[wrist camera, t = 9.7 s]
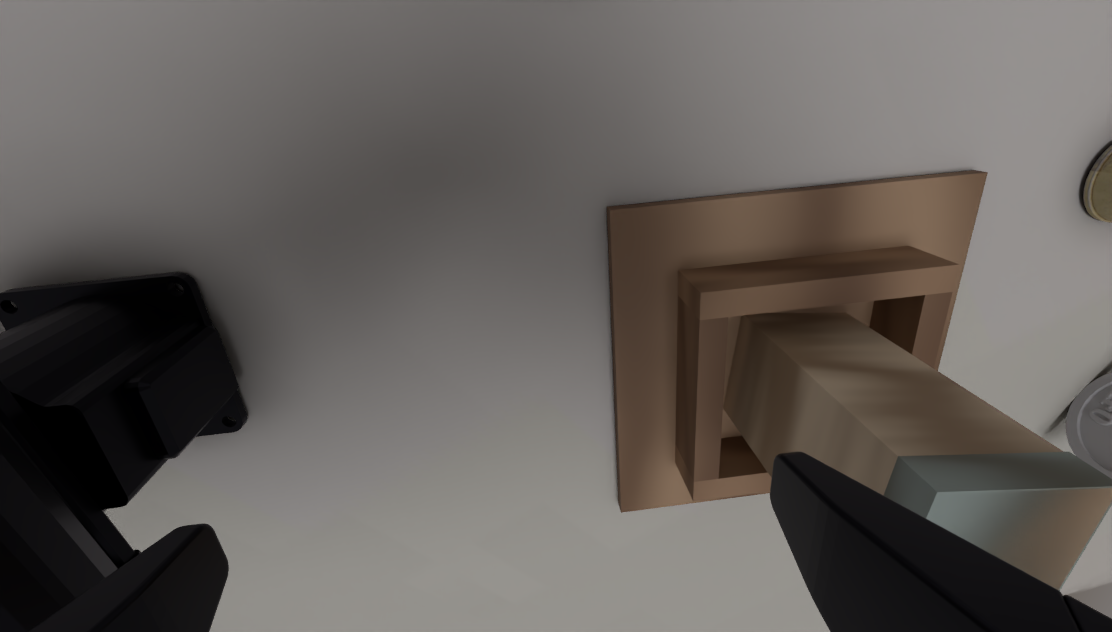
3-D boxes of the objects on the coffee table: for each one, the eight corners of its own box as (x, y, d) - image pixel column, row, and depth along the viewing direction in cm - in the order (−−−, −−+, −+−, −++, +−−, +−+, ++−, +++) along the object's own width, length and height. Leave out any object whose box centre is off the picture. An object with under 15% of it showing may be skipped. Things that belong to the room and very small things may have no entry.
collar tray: (618, 503, 24) (632, 555, 22) (606, 206, 19) (624, 226, 16) (902, 465, 25) (951, 511, 22) (973, 170, 19) (1051, 182, 17)
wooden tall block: (721, 408, 22) (876, 634, 13) (740, 311, 20) (937, 492, 11) (821, 407, 22) (1039, 624, 13) (848, 312, 21) (1123, 486, 11)
